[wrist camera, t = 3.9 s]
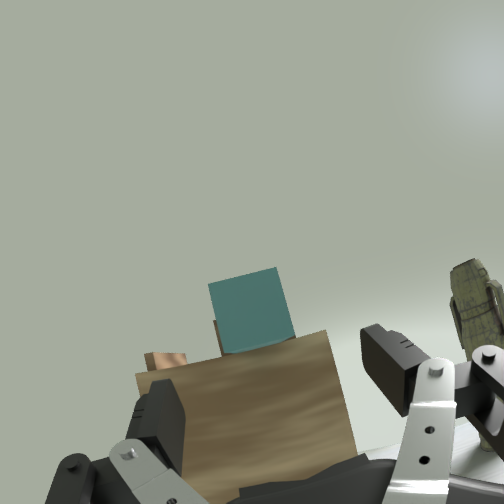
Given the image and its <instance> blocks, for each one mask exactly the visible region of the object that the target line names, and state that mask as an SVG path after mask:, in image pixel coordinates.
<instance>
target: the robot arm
mask: <svg viewBox="0 0 504 504" xmlns="http://www.w3.org/2000/svg"><path fill="white" fill-rule="evenodd" d="M360 339H361V351H362V362H363V365H364V368H365V371H366V372H367V374H368V375H369V376H370V378H371V379H372V380H373V381H374V382H375V384H376V385H377V386H378V388H379V389H380V390H381V391H382V392H383V394H384V395H385V396H386V398H387V399H388V400H389V401H390V403H391V404H392V405H393V406H394V408H395V409H396V410H397V412H398V413H399V414H400V415H401V417H405V416H407V415H408V419H407V423H406V427H405V432H404V436H403V440H402V444H401V447H400V451H399V455H398V458H397V460H395V459H376V460H369V459H368V458H367V456H366V454H365V453H363V454H361V455H358V456H355V457H353V458H350V459H347V460H344V461H342V462H339V463H336V464H334V465H332V466H330V467H328V468H326V469H325V470H323V471H321V472H319V473H317V474H315V475H313V476H311V477H309V478H307V479H304V480H295V481H279V482H267V483H263V484H258V485H253V486H248V487H242V488H239V495H240V497H238V498H235V499H233V500H231V501H229V502H227V503H226V504H504V484H497V483H491V482H486V481H481V480H475V479H471V478H466V477H461V476H457V475H453V474H449V473H450V466H451V459H452V450H453V441H454V429H455V419H457V418H460V417H464V416H465V417H466V418H467V419H468V420H469V421H470V423H471V424H472V425H473V426H474V427H475V428H476V429H477V431H478V432H479V433H480V434H481V435H482V436H483V438H484V439H485V440H486V441H487V442H488V443H489V444H490V446H491V447H492V448H493V449H494V450H495V452H496V453H497V454H498V455H499V456H500V457H501V459H502V460H503V461H504V404H503V403H502V402H501V401H499V400H498V399H497V398H496V395H497V396H498V397H500V398H501V399H502V400H503V402H504V350H502V349H501V348H499V347H497V346H494V345H485V346H481V347H478V348H477V349H476V350H474V352H473V354H472V360H471V361H468V362H465V363H461V364H457V365H453V363H452V362H451V361H449V360H448V359H445V358H430V357H429V356H428V355H427V354H425V353H424V352H423V351H422V350H421V349H420V348H418V347H417V346H416V345H414V344H413V343H412V342H411V341H410V340H408V339H407V338H406V337H405V336H404V335H402V334H401V333H398V332H395V331H392V330H391V331H388V332H387V331H386V330H385V329H384V328H383V327H381V326H380V325H379V324H374V325H371V326H369V327H366V328H363V329H361V331H360ZM185 423H186V416H185V411H184V408H183V405H182V403H181V401H180V398H179V396H178V394H177V392H176V389H175V387H174V385H173V382H172V381H171V379H170V378H168V379H162V380H156V381H152V383H151V386H150V390H149V393H148V394H143V395H142V396H141V397H140V399H139V400H138V401H137V402H136V405H135V408H134V412H133V415H132V419H131V421H130V425H129V428H128V431H127V435H126V439H125V440H123V441H121V442H119V443H117V444H116V445H115V446H114V447H113V448H112V449H111V451H110V454H109V457H107V458H103V459H100V460H96V461H92V462H91V461H90V460H89V458H88V457H87V456H86V455H84V454H80V453H76V454H72V455H69V456H67V457H65V458H64V459H63V460H62V461H61V462H60V464H59V466H58V468H57V471H56V474H55V476H54V479H53V482H52V485H51V488H50V490H49V493H48V496H47V499H46V502H45V504H210V503H209V502H208V501H206V500H205V499H204V498H203V497H202V496H201V495H199V494H198V493H197V492H196V491H195V490H194V489H193V488H192V487H190V486H189V485H188V484H187V483H186V482H185V481H184V480H183V479H182V478H181V476H182V461H183V448H184V435H185Z"/></svg>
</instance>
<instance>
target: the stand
mask: <svg viewBox="0 0 504 504" xmlns="http://www.w3.org/2000/svg"><path fill="white" fill-rule="evenodd" d="M213 322H214V326H215V330H216V335H217V338H218V342H219V347H220V351H221V355H222V357H219V358H215V359H210V360H206V361H201V362H196V363H191V364H187V361H186V356H185V354H179V353H156V352H152V353H146V354H144V356H145V361H146V365H147V370H148V372H142V373H137V374H135V376H136V380H137V385H138V389H139V393H140V397H141V396H142V395H143V394H148V393H149V390H150V386H151V383H152V381H156V380H162V379H168V378H170V379H171V381H172V382H173V385H174V387H175V389H176V392H177V394H178V396H179V398H180V401H181V403H182V405H183V408H184V411H185V416H186V423H185V435H184V448H183V461H182V476H181V478H182V479H183V480H184V481H185V482H186V483H187V484H188V485H189V486H190V487H192V488H193V489H194V490H195V491H196V492H197V493H198V494H199V495H201V496H202V497H203V498H204V499H205V500H206V501H208V502H209V503H210V504H226V503H227V502H229V501H231V500H233V499H235V498H238V497H240V495H239V488H242V487H248V486H253V485H258V484H263V483H267V482H279V481H295V480H304V479H307V478H309V477H311V476H313V475H315V474H317V473H319V472H321V471H323V470H325V469H326V468H328V467H330V466H332V465H334V464H336V463H339V462H342V461H344V460H347V459H350V458H353V457H355V456H358V453H357V449H356V445H355V440H354V436H353V432H352V428H351V424H350V419H349V415H348V411H347V408H346V403H345V399H344V395H343V392H342V388H341V384H340V380H339V376H338V372H337V368H336V365H335V361H334V357H333V354H332V350H331V346H330V343H329V339H328V336H327V332H326V330H323V331H319V332H316V333H312V334H309V335H306V336H302V337H298V338H296V336H295V335H294V336H292V337H290V338H288V339H286V340H284V341H282V342H280V343H277V344H273V345H269V346H265V347H261V348H257V349H253V350H249V351H245V352H241V353H224V350H223V346H222V342H221V338H220V334H219V330H218V326H217V321H216V320H214V321H213Z"/></svg>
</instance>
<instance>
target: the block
mask: <svg viewBox="0 0 504 504" xmlns="http://www.w3.org/2000/svg"><path fill="white" fill-rule="evenodd" d="M208 286H209V291H210V295H211V300H212V304H213V308H214V313H215V317H216V321H217V326H218V330H219V334H220V338H221V342H222V346H223V350H224V353H241V352H245V351H249V350H253V349H257V348H261V347H265V346H269V345H273V344H277V343H280V342H282V341H284V340H286V339H288V338H290V337H292V336H294V335H295V332H294V329H293V325H292V322H291V318H290V314H289V311H288V307H287V303H286V300H285V297H284V293H283V289H282V286H281V282H280V278H279V275H278V271H277V268H276V267H274V268H271V269H266V270H262V271H258V272H255V273H250V274H246V275H242V276H238V277H234V278H230V279H226V280H222V281H218V282H214V283H210V284H208Z"/></svg>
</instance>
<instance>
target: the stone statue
mask: <svg viewBox="0 0 504 504" xmlns="http://www.w3.org/2000/svg"><path fill="white" fill-rule="evenodd" d="M450 279H451V289H452V292H453V297H451V301H450V308H451V311H452V315H453V318H454V322H455V326H456V329H457V333H458V337H459V340H460V343H461V346H462V349H465V353H466V357H467V362H468V361H471V360H472V354H473V352H474V350H476V349H477V348H478V347H481V346H485V345H494V346H497V347H499V348H501V349H502V350H504V293H503V289H502V285H500V284H499V283H498V282H497V281H496V280H490V278H489V275H488V272H487V270H486V268H485V267H484V265H483V264H482V263H481V261H480V260H479V259H477V260H475V258H474V259H471V260H468V261H466V262H464V263H462V264H460V265H458V266H456V267H454V268H453V271H451V272H450ZM495 297H496V301H497V304H498V305H496V301H495ZM496 398H497V399H498V400H499V401H501V402H502V403H503V404H504V402H503V400H502V399H501V398H500V397H498V396H497V395H496ZM479 437H480V440H481V443H480V444H481V449H483V450H484V451H488V452H489V451H495V450H494V449H493V448H492V447H491V446H490V444H489V443H488V442H487V441H486V440H485V439H484V438H483V436H482V435H481V434H480V433H479Z"/></svg>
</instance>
